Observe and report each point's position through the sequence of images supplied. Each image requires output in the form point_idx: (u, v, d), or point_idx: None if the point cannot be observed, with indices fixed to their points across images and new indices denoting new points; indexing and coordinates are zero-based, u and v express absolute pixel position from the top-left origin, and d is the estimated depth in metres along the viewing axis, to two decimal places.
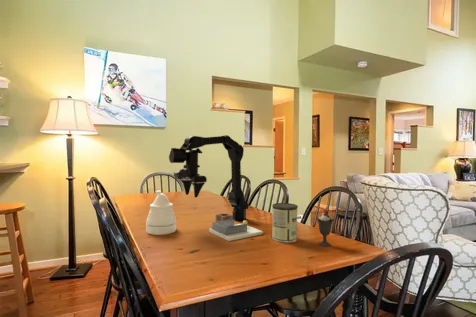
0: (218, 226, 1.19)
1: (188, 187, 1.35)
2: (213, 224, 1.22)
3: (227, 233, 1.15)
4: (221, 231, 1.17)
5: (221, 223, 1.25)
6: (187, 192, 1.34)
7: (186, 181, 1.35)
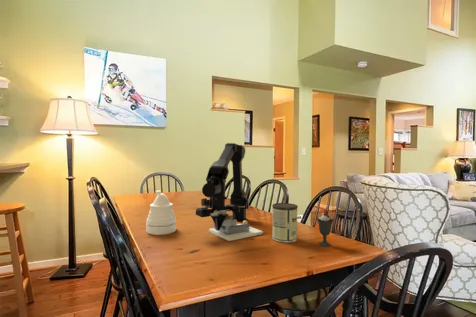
0: None
1: None
2: None
3: (229, 233, 1.15)
4: (223, 231, 1.18)
5: (223, 223, 1.25)
6: None
7: (219, 215, 1.19)
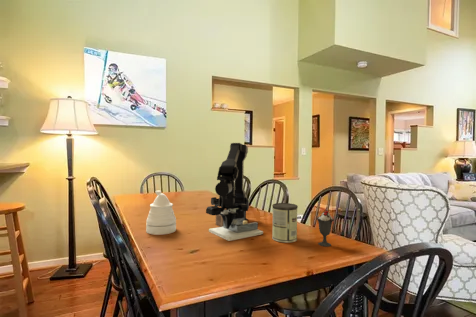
0: None
1: None
2: None
3: (238, 231, 1.18)
4: (232, 229, 1.20)
5: (232, 221, 1.28)
6: None
7: (228, 214, 1.22)
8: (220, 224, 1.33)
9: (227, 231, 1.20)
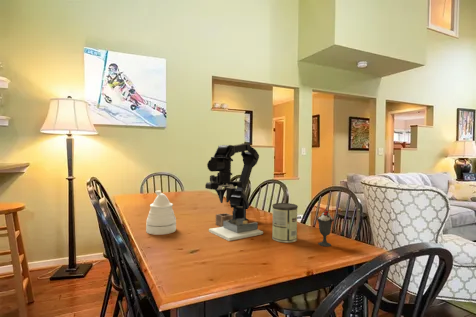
0: (229, 224, 1.22)
1: (228, 195, 1.36)
2: (224, 222, 1.26)
3: (238, 231, 1.18)
4: (232, 229, 1.20)
5: (232, 221, 1.28)
6: (227, 199, 1.36)
7: (228, 189, 1.37)
8: (220, 224, 1.33)
9: (227, 231, 1.20)
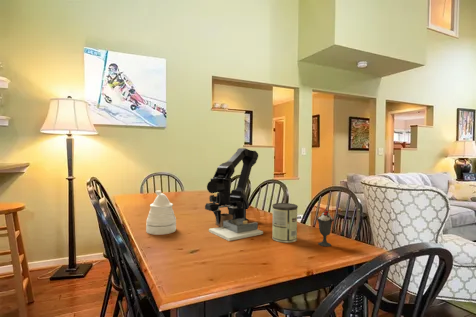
0: (229, 224, 1.22)
1: None
2: (224, 222, 1.26)
3: (238, 231, 1.18)
4: (232, 229, 1.20)
5: (232, 221, 1.28)
6: None
7: (230, 209, 1.38)
8: (220, 224, 1.33)
9: (227, 231, 1.20)
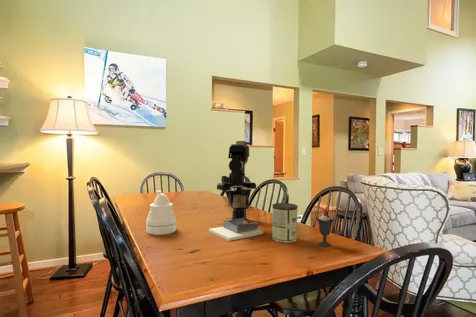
0: (229, 224, 1.22)
1: None
2: (224, 222, 1.26)
3: (238, 231, 1.18)
4: (232, 229, 1.20)
5: (232, 221, 1.28)
6: None
7: (243, 190, 1.32)
8: (232, 205, 1.27)
9: (227, 231, 1.20)
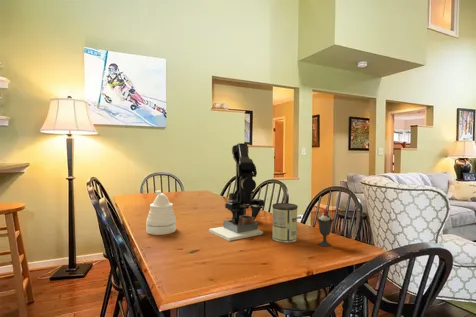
0: (229, 224, 1.22)
1: (254, 214, 1.29)
2: (224, 222, 1.26)
3: (238, 231, 1.18)
4: (232, 229, 1.20)
5: (232, 221, 1.28)
6: None
7: (253, 208, 1.30)
8: None
9: (227, 231, 1.20)
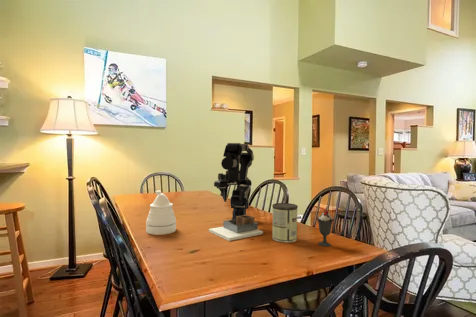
0: (229, 224, 1.22)
1: (241, 193, 1.37)
2: (224, 222, 1.26)
3: (238, 231, 1.18)
4: (232, 229, 1.20)
5: (232, 221, 1.28)
6: (240, 197, 1.37)
7: (241, 187, 1.38)
8: None
9: (227, 231, 1.20)
